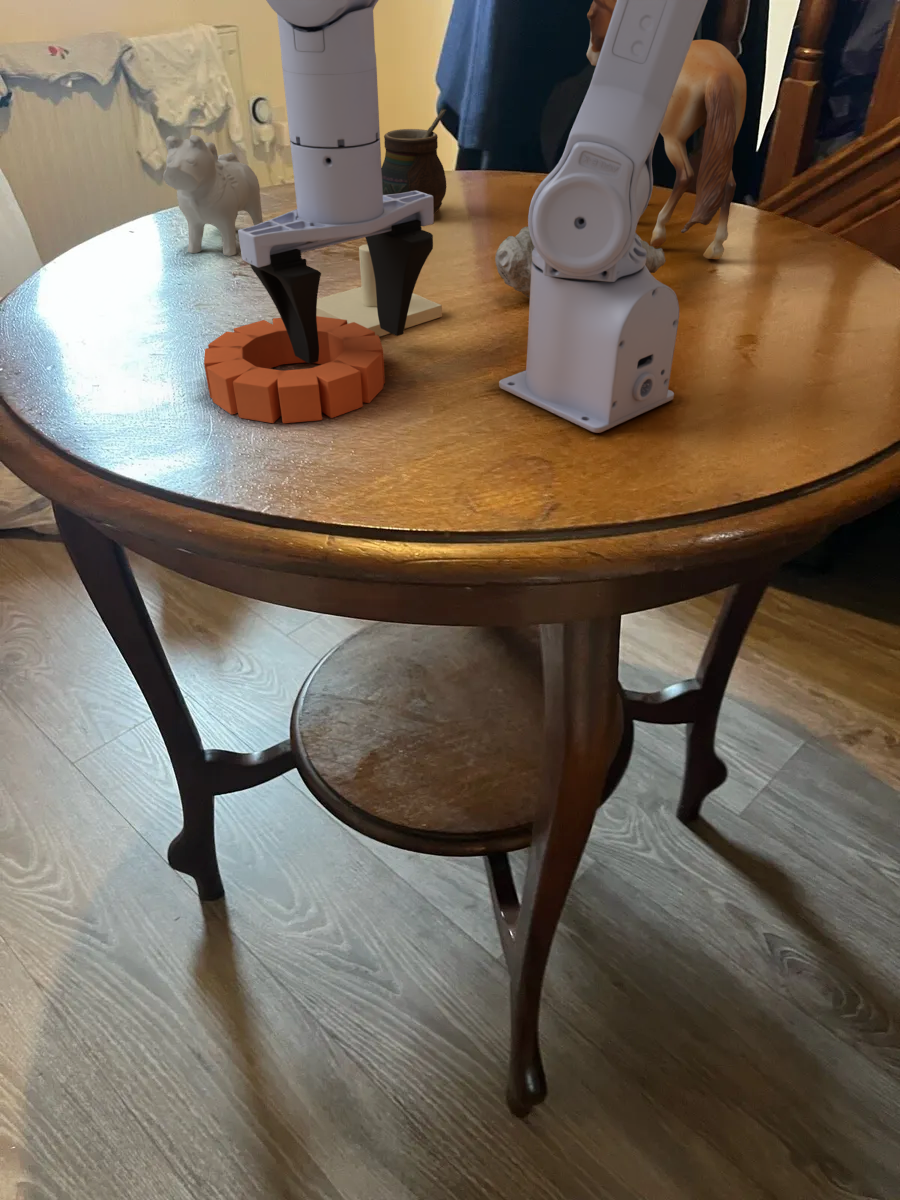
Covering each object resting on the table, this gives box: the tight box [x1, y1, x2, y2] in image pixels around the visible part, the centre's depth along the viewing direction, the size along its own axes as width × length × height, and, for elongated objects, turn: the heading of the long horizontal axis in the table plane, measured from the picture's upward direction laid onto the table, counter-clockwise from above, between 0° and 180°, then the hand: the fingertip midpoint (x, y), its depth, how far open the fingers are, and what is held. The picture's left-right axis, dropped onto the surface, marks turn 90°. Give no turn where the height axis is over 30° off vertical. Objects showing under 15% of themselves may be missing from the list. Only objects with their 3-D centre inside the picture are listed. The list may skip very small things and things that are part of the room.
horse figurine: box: [586, 0, 747, 260], centre depth 85 cm, size 31×8×21 cm, turn 13°
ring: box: [203, 316, 386, 424], centre depth 63 cm, size 12×12×3 cm
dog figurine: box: [162, 134, 264, 257], centre depth 86 cm, size 5×13×11 cm, turn 165°
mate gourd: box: [381, 107, 447, 215], centre depth 94 cm, size 7×8×10 cm
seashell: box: [494, 226, 667, 299], centre depth 76 cm, size 6×14×8 cm, turn 95°
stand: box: [316, 243, 443, 338], centre depth 73 cm, size 8×8×6 cm
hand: (350, 344), depth 65 cm, fingers open, 7 cm apart
